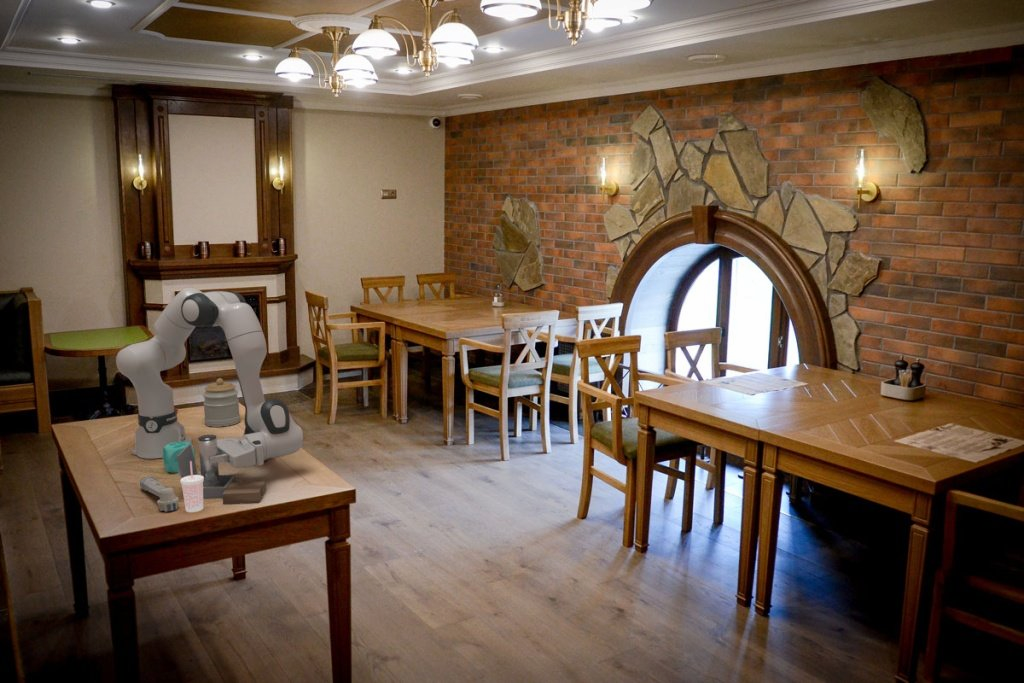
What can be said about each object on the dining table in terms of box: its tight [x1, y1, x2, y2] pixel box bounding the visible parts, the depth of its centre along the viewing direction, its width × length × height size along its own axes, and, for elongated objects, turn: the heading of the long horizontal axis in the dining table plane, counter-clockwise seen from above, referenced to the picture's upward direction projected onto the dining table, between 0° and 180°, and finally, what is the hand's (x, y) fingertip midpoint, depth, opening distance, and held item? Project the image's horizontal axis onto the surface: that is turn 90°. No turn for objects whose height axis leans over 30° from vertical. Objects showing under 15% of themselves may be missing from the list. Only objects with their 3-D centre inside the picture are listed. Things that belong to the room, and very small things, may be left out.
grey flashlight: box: [139, 475, 180, 513], centre depth 237 cm, size 5×7×25 cm
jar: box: [202, 377, 241, 428], centre depth 316 cm, size 13×13×18 cm
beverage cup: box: [180, 461, 204, 513], centre depth 229 cm, size 6×6×14 cm
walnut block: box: [222, 480, 267, 505], centre depth 239 cm, size 10×10×3 cm
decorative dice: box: [162, 442, 196, 474], centre depth 264 cm, size 8×8×8 cm
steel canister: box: [197, 434, 220, 487], centre depth 242 cm, size 5×5×14 cm
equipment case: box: [176, 444, 238, 499], centre depth 243 cm, size 12×14×13 cm
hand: (205, 457), depth 242 cm, fingers closed on steel canister, 5 cm apart
